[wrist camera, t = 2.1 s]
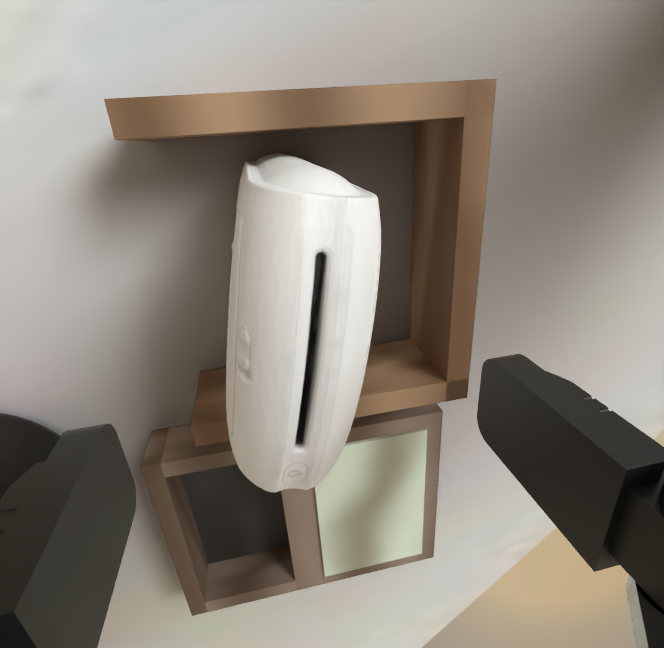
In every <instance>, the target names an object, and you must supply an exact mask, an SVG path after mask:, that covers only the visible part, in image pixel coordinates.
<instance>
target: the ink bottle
mask: <svg viewBox="0 0 664 648" xmlns="http://www.w3.org/2000/svg"><path fill="white" fill-rule="evenodd" d="M60 437H61V436H60V435H58V434H57V433H55V432H53V431H52V430H50V429H48V428H46V427H44V426H42V425H40V424H38V423H35V422H33V421H30V420H27V419H24V418H20V417H17V416H13V415H8V414H2V413H0V500H1V498H2V497H3V495H4V494H5V492H6V491H7V489H8V488H9V486H11V485H12V484H13V483H14V482H15V481H16V480H17V479H19V478H20V477H21V476H22V475H23V474H24V473H25V472H26V471H28V470H29V469H30V468H31V467H32V466H33V465H34V464H35V463H40V462H45V461H46V460H47V458H48V457H49V455H50V453H51V452H52V450H53V449H54V447H55V445H56V444H57V442H58V440H59V439H60Z"/></svg>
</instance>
